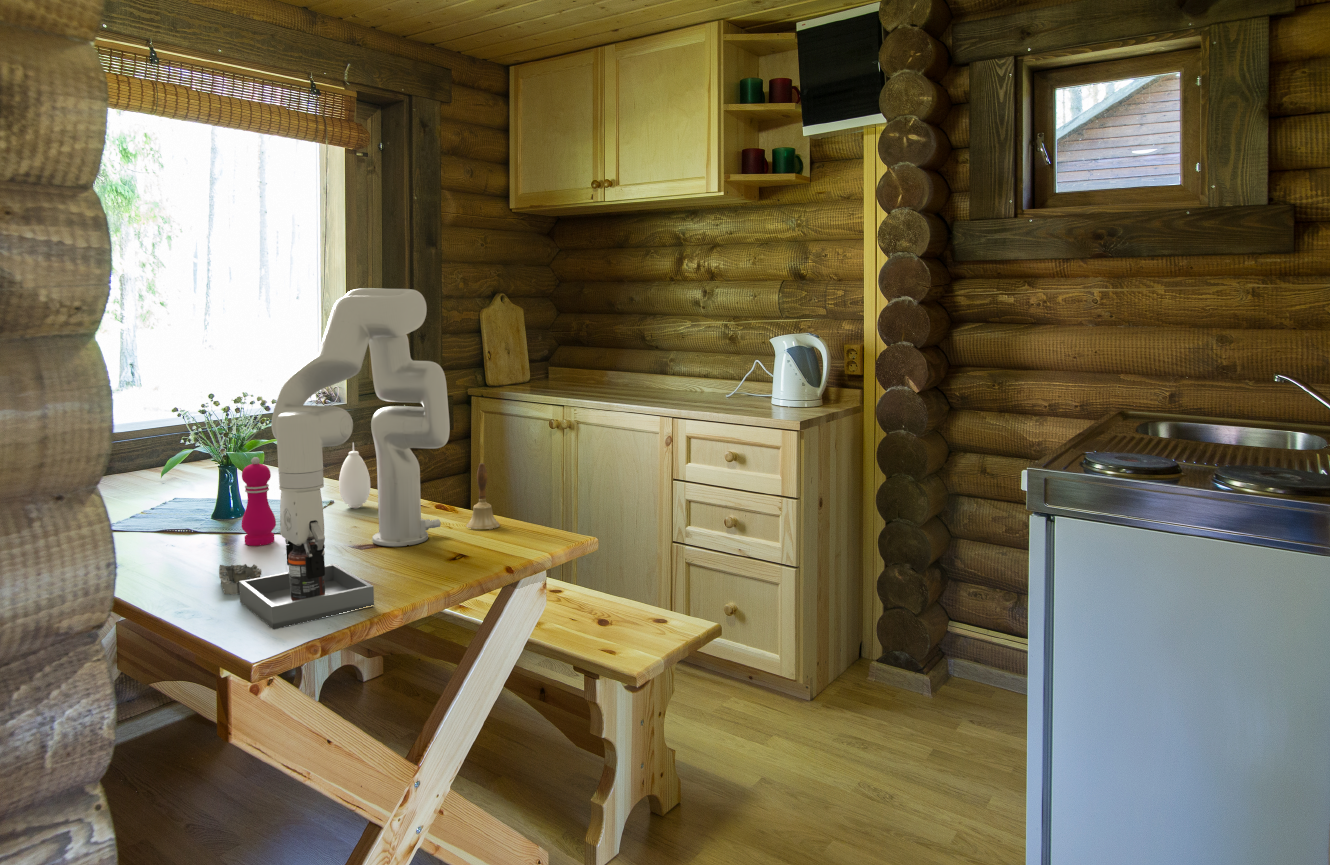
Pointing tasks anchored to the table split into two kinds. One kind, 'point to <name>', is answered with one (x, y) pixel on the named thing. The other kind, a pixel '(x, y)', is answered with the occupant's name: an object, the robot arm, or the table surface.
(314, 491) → the robot arm
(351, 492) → the air blower bulb
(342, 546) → the table surface
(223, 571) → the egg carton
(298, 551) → the supplement bottle
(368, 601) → the tray
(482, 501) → the hand bell
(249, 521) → the pepper mill
